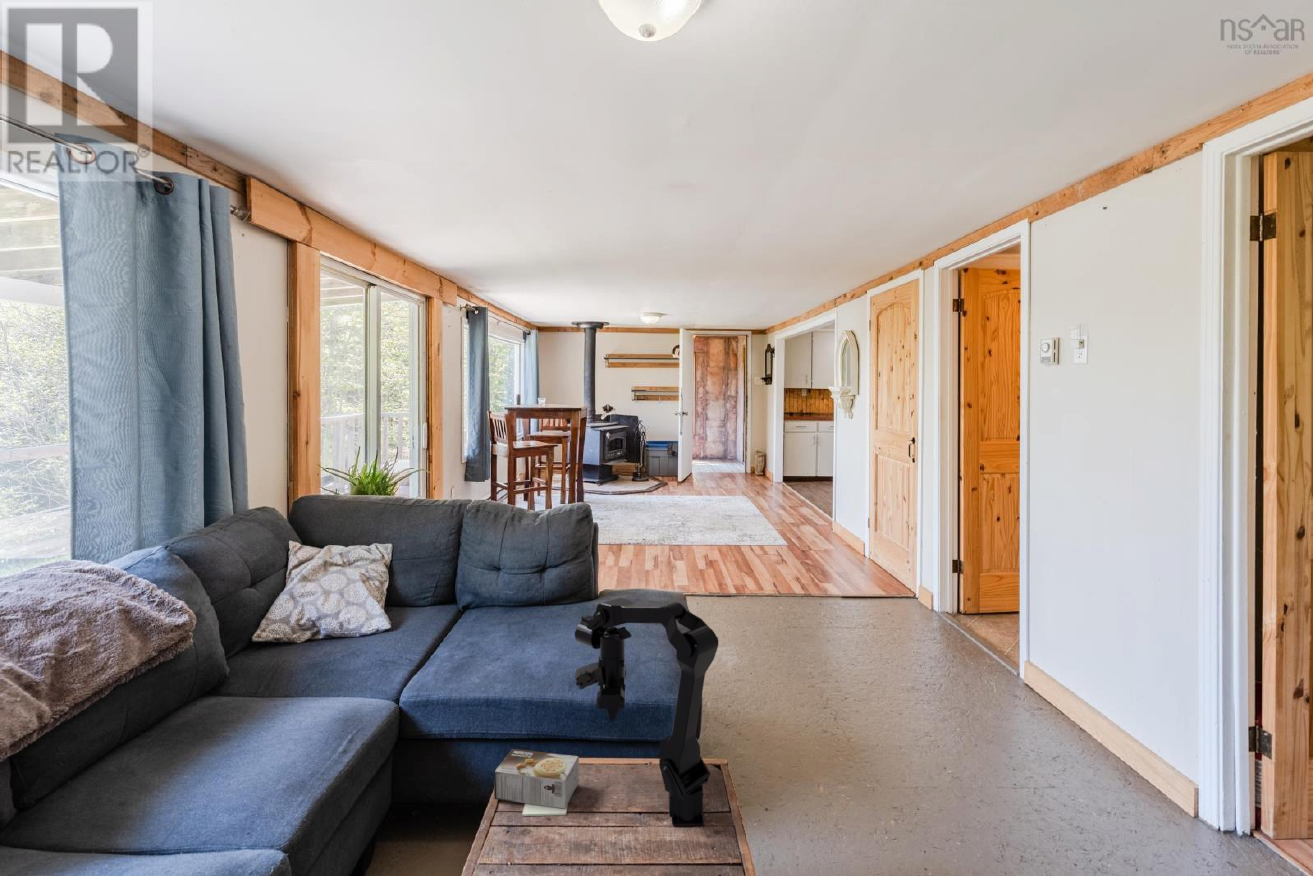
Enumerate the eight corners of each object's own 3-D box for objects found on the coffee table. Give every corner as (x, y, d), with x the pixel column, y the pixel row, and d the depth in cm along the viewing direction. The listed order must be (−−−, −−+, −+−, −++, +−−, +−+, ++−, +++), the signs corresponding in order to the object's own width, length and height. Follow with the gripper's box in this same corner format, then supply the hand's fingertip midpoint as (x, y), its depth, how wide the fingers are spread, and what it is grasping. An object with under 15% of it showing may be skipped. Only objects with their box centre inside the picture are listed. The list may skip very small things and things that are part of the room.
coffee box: (579, 783, 131) (512, 774, 134) (579, 755, 131) (512, 747, 134) (564, 810, 122) (493, 799, 125) (564, 780, 122) (493, 770, 125)
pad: (572, 780, 133) (572, 778, 133) (565, 815, 121) (565, 813, 121) (532, 781, 133) (532, 779, 133) (522, 816, 121) (522, 814, 121)
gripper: (581, 639, 145) (580, 702, 145) (573, 671, 126) (573, 743, 127) (626, 639, 145) (625, 701, 146) (625, 670, 127) (624, 742, 127)
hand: (612, 720), depth 136 cm, fingers closed
